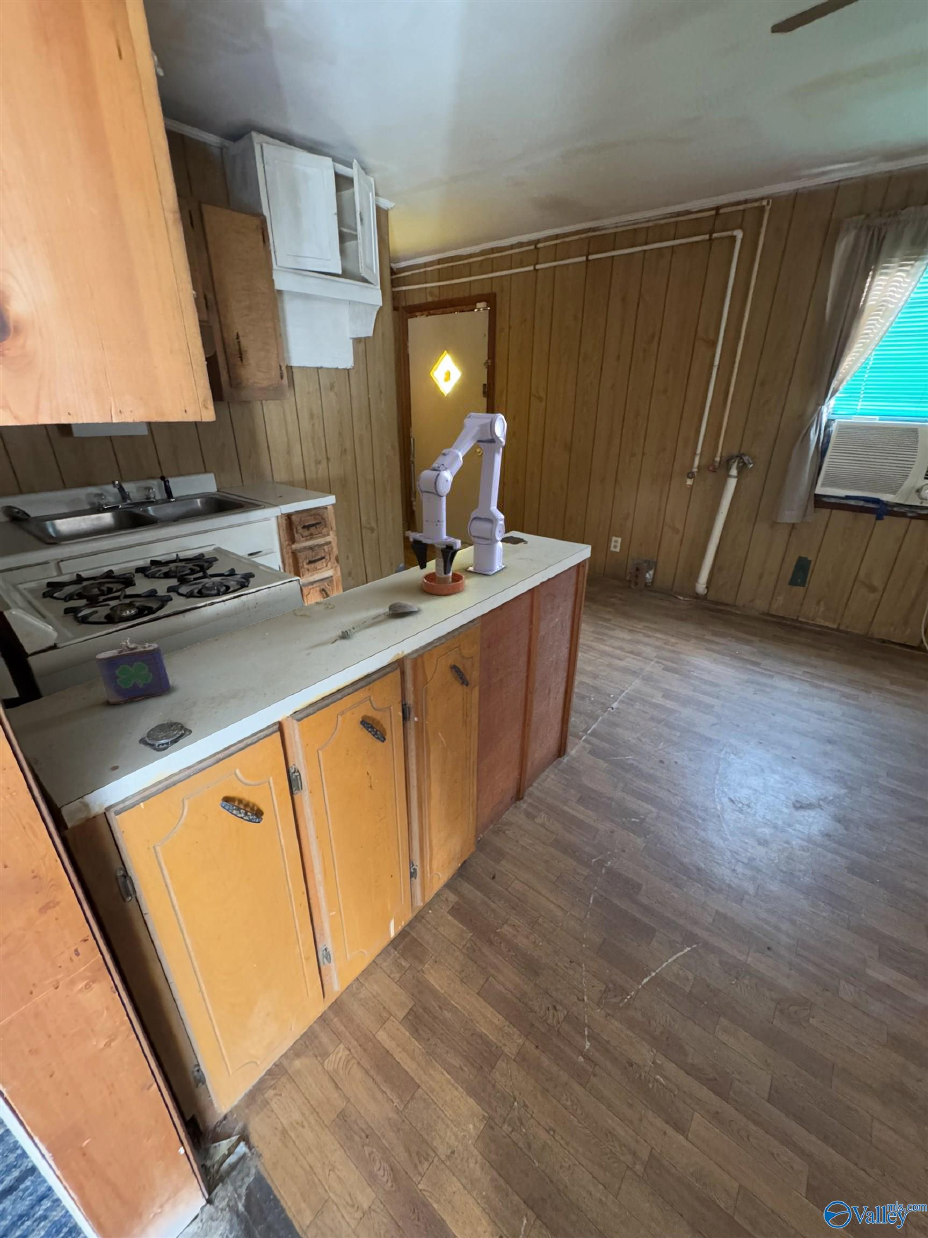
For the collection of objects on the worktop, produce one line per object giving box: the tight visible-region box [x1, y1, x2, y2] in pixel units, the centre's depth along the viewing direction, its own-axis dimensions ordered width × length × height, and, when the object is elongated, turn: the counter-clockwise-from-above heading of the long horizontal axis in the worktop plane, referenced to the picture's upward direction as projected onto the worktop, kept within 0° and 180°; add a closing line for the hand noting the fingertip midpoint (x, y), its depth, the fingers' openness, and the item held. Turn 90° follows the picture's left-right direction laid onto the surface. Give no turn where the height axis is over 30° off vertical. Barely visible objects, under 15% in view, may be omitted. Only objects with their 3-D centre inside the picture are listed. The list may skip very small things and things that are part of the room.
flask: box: [94, 637, 172, 705], centre depth 85 cm, size 9×3×11 cm, turn 117°
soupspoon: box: [340, 601, 419, 638], centre depth 116 cm, size 22×3×7 cm
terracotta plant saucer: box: [421, 571, 466, 596], centre depth 137 cm, size 12×12×3 cm
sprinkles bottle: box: [434, 544, 453, 584], centre depth 134 cm, size 5×5×13 cm
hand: (435, 571), depth 132 cm, fingers open, 7 cm apart
